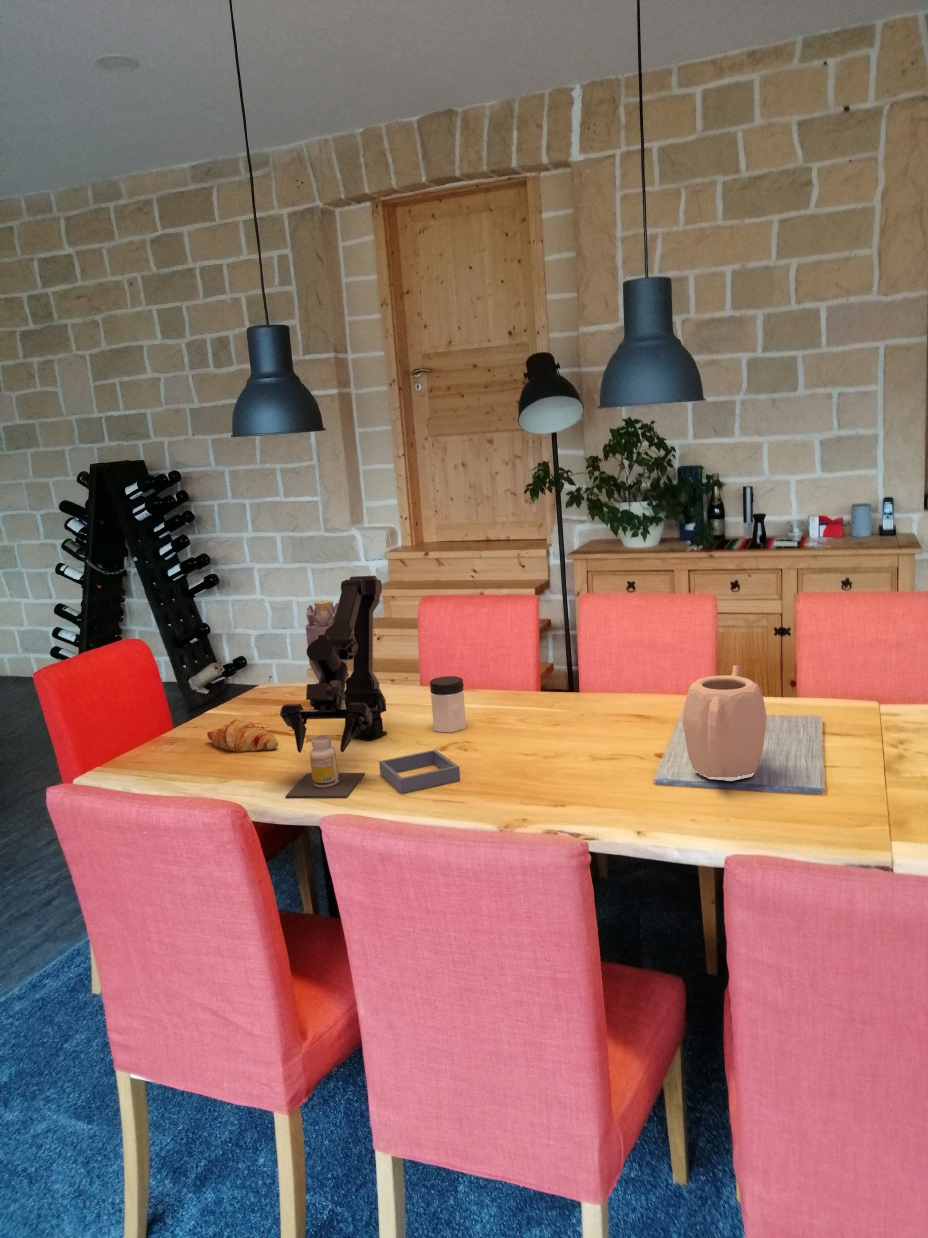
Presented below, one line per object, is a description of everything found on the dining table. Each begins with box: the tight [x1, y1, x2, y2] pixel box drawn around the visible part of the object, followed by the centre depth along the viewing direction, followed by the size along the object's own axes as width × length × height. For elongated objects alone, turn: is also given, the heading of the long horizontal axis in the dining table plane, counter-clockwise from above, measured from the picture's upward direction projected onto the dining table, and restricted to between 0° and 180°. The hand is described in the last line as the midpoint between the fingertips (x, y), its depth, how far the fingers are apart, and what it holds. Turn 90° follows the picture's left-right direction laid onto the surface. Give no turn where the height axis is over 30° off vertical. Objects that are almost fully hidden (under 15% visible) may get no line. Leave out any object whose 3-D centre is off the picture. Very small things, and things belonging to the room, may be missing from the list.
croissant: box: [206, 719, 279, 753], centre depth 225 cm, size 21×10×8 cm, turn 65°
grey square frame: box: [378, 749, 461, 795], centre depth 195 cm, size 13×13×3 cm
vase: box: [305, 600, 349, 709], centre depth 249 cm, size 10×10×30 cm
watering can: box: [682, 665, 767, 777], centre depth 185 cm, size 16×27×19 cm, turn 154°
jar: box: [429, 675, 467, 734], centre depth 227 cm, size 9×8×12 cm
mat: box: [285, 772, 366, 799], centre depth 194 cm, size 13×13×1 cm
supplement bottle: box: [309, 735, 339, 788], centre depth 194 cm, size 5×5×10 cm
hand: (320, 751), depth 192 cm, fingers open, 9 cm apart
